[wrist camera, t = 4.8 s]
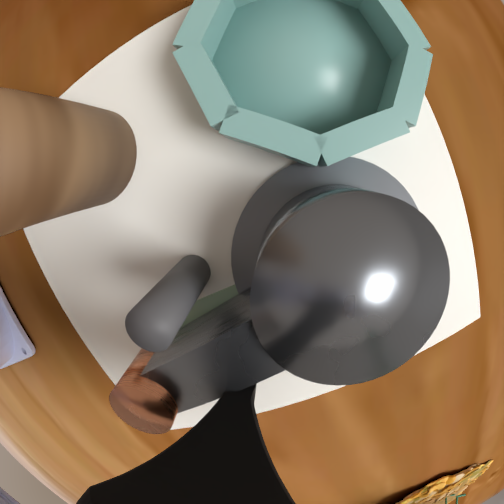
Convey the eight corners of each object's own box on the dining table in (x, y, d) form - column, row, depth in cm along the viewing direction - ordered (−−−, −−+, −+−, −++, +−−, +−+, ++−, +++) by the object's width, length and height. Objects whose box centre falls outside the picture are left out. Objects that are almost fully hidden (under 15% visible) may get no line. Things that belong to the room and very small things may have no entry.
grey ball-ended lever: (361, 154, 8) (405, 148, 5) (424, 281, 9) (472, 325, 6) (113, 318, 11) (69, 364, 7) (190, 403, 11) (169, 459, 8)
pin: (82, 222, 10) (-68, 286, 3) (51, 145, 9) (-95, 157, 2) (153, 174, 9) (-31, 203, 2) (115, 91, 8) (-45, 45, 2)
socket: (254, 195, 9) (248, 202, 7) (167, 28, 8) (147, 7, 6) (436, 119, 8) (463, 112, 6) (339, -33, 6) (347, -59, 4)
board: (160, 421, 14) (131, 486, 9) (11, 162, 10) (-61, 172, 6) (471, 309, 10) (530, 365, 6) (329, -30, 7) (348, -104, 2)
